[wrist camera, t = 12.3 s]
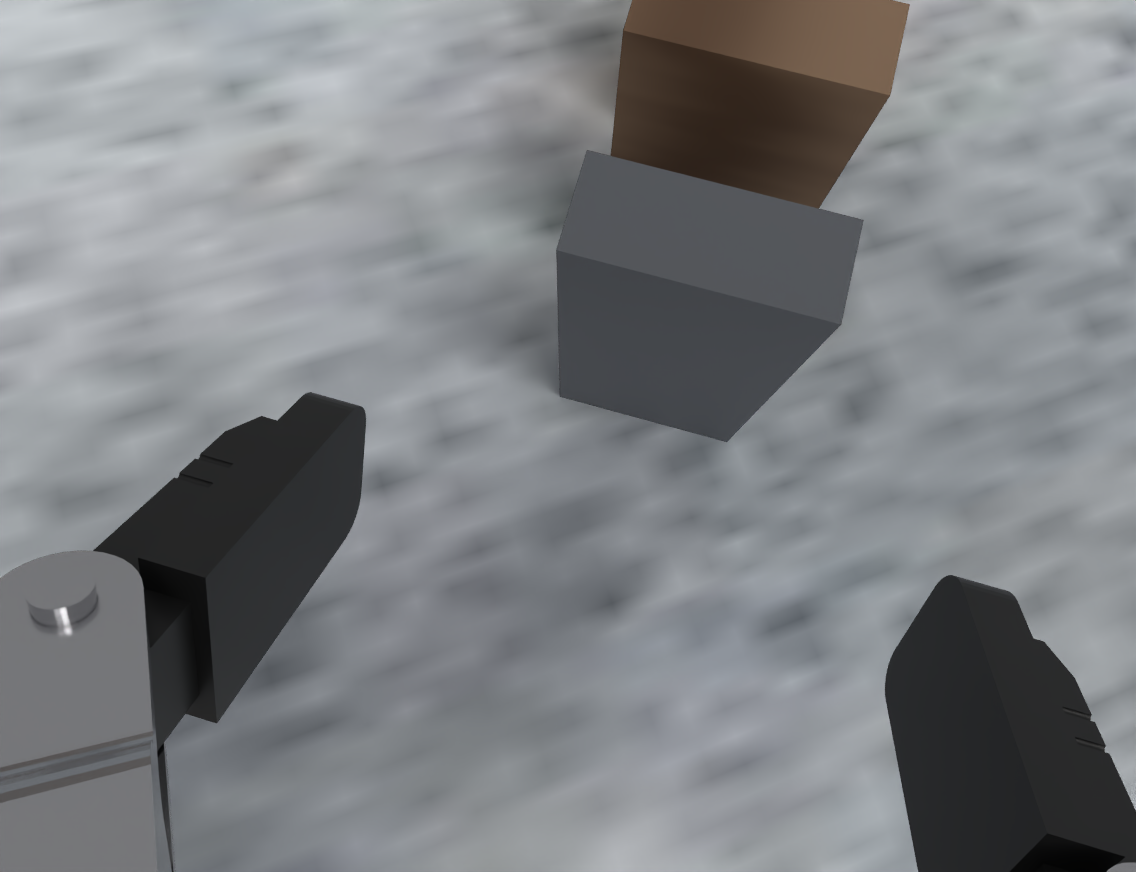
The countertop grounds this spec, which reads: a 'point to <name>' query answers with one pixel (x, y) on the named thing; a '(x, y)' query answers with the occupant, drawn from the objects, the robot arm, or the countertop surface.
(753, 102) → the domino
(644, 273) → the domino
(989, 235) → the countertop surface
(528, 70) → the countertop surface
